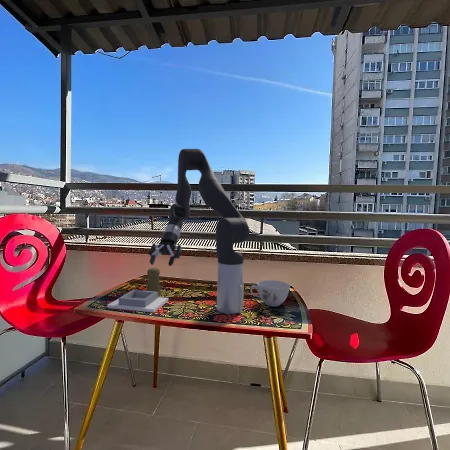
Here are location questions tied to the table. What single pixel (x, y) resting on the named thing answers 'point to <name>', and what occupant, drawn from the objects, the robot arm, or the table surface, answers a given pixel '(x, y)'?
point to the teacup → (272, 291)
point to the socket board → (139, 301)
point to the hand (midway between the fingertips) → (160, 264)
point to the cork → (153, 280)
